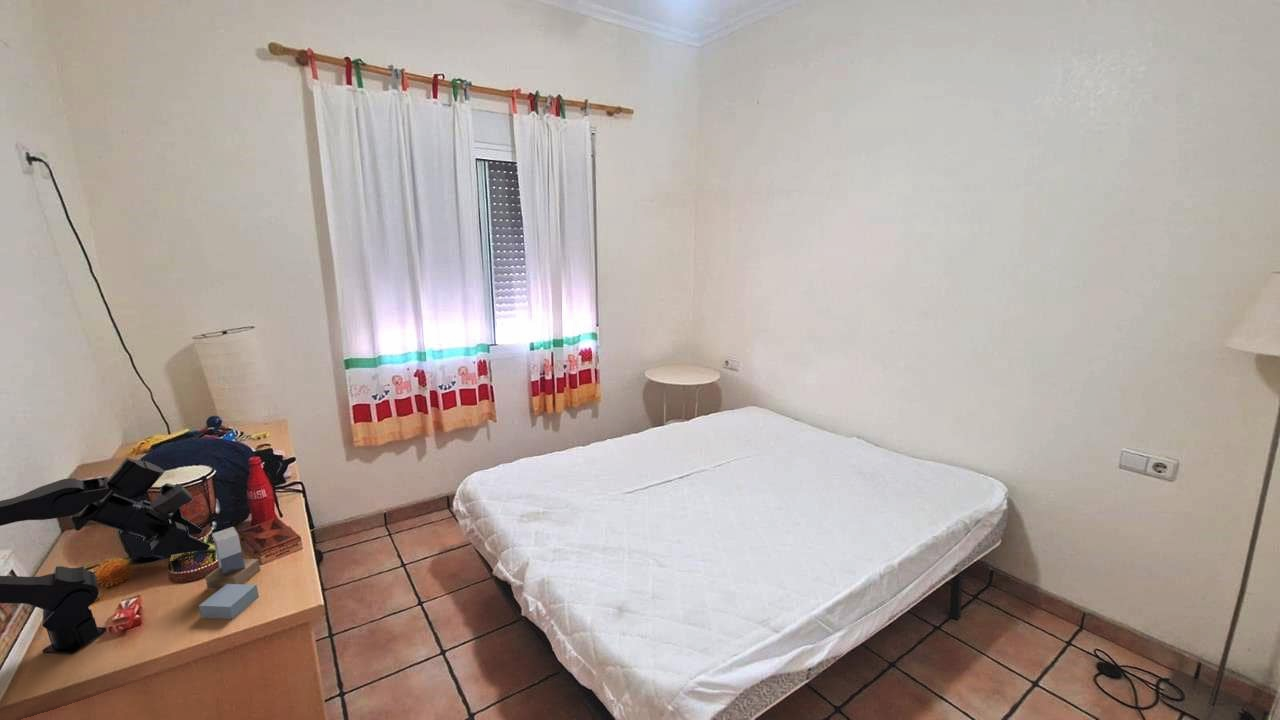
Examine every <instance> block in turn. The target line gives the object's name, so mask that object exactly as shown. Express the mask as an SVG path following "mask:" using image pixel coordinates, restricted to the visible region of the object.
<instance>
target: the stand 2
mask: <svg viewBox="0 0 1280 720" xmlns="http://www.w3.org/2000/svg"><path fill="white" fill-rule="evenodd" d="M259 597H260V596H259V590H258V585H257V584H248V583H247V584H245V583H244V584H226V585H225V586H223V587H222V588H221V589H217V591H216V592H214V593H213V594H212V595H211V596H209V597H208V598H206V599H205V600H204V601H202V603H200V604H199V605H198V608H199V613H200V617H201V618H202V619H225V620H234V618H236V617H237V616H238V615H240V613H241V612H243V611H245V610H244V609H246V608H247V607H248V606H250V605H251V604H252V603H253V602H254V601H256V599H257V598H259Z"/></svg>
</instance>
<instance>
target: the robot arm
mask: <svg viewBox="0 0 1280 720" xmlns="http://www.w3.org/2000/svg"><path fill="white" fill-rule="evenodd" d="M164 473H165V470H164V469H163V468H162V467H159V466H158V465H156V464H153V463H151V462H149V461H146V460H143V461H142V460H141V459H133V458H129V457H126V458H125V459H124V460H123V461H122V462H121V463H120V466H119V467H118V468H117V469H116V470H115V471H114V472H113V473H112V474H111V475H110V476H109V477H107V476H103V477H96V478H89V479H83V480H80V479H77V478H73V477H71V478H70V477H69V478H62V479H59V480H56V481H53V482H50V483H47V484H45V485H42V486H39V487H37V488H36V487H35V488H34V489H32V490H30V491H27V492H26V493H23V494H21V495H17V496H14V497H11V498H8V499H3V500H0V527H1V526H5V525H9V524H13V523H18V522H24V521H46V520H54V519H61V518H65V517H66V518H67V517H70V520H71V521H72V522H73V524H74V530H75V531H76V532H79V531H81V530H82V529H83V528H84V526H85V525H87V523H88V522H91V523H94V524H97V525H101V526H105V527H108V528H111V529H115V530H117V531H119V534H120V535H123V536H127V535H128V534H131V535H134V536H136V535H138V536H141V537H143V541H147V542H149V541H150V540H151V539H152V538H153V537H154V536H155V539H154V540H153V541H152V542H151V543H150V546H151V550H152V554H153V556H155V557H154V558H159V559H162V560H163V559H165V558H166V557H170V556H173V555H179V554H187V553H194V552H195V553H196V552H204V551H208V550H209V549H210V548H211V547H210V545H209V544H207V543H205V542H203V541H201V540H199V539H197V538H195V537H193V536H191V535H189V534H201V533H202V532H203V529H201V528H200V527H198V526H197V525H195V524H194V523H192V522H190V521H189V520H187V519H186V518H184V517H183V516H182V515H181V512H180V507H182V506H183V505H185V504H188V503H189V502H191V501H193V499H194V497H193V496H192V494H191V492H189V491H188V490H187V489H186V488H185V487H184V486H183V485H181V483H180V484H179V483H176V484H171V483H167V482H166V483H164V484H163V485H161V486H159V490H160V495H157V497H156V498H155V499H154V500H152V501H149V500H146V499H145V500H140V501H139V502H138V501H134V500H133V499H138V498H139V497H143V496H145V495H146V494H147V492H149V490H150V489H151V488H152V487H153V485H154V484H156V482H157V481H158V480H159V479H160V478H161V477H162V476H163V475H164ZM131 499H132V500H131ZM209 547H210V548H209ZM98 597H99V586H98V577H97V576H96V574H95V573H94V572H93V571H91V570H88V569H86V570H85V566H80V567H67V566H62V565H61V566H60V565H59V566H55V568H54V570H53V573H49V574H45V575H40V576H21V575H20V576H17V575H15V576H14V575H0V604H16V605H17V604H21V605H22V604H24V605H29V606H32V607H35V608H39V609H41V610H42V624H41V626H42V627H43V628H44V629H45V630H46V632H47V635H48V639H49V641H50V644H49V645H47V646H46V647H45V648H43V649H42V651H41V652H42V654H59V655H61V654H62V655H72V654H74V653H77V652H78V651H79V650H80V649H82V648H84V647H85V646H86V645H88V644H89V643H90V642H93V640H95V639H96V638H97V637H99V636H101V635H102V634H104V633H105V632H106V631H107V630H108V629H107V627H106V626H105V627H104V626H98V625H97V622H96V618H95V617H94V614H93V612H92V609H90V606H91V605H93V604H94V603H95V602H96V600H97V599H98Z"/></svg>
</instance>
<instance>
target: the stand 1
mask: <svg viewBox="0 0 1280 720" xmlns="http://www.w3.org/2000/svg"><path fill="white" fill-rule="evenodd" d="M243 560H244V565H245V569H242V570H240V571H237V572H235V573H232V574H229V575H227V576H223V574H222V571H221V569H220V567H219V566H218V567H217V568H216V569H214V570H212V571H211V572H210V573H208V574H207V575H206V576H205V577H204V578H205V581H206V586H207V589H213V590H220V589H221V588H222V587H223V586H225V585H226V584H245V583H246V582H248V581H249V580H250V579H251V578H252V577H254V576H255V575H256V574H257V573H259V572H260V571H261V566H260V561H259V559H257V558H243Z"/></svg>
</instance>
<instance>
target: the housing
mask: <svg viewBox="0 0 1280 720" xmlns="http://www.w3.org/2000/svg"><path fill="white" fill-rule="evenodd" d="M212 537H213V541H214V543H213V545H214V548H215V552H216V556H217V562H218V565H219V566H218V567H220V569H221V571H222V574H223V576H227V575H229V574H232V573H235V572H237V571H240V570H242V569H245V565H244V560H243V559H244V556H243V552H242V546H241V542H240V537H239V534H238V532H237V530H236V528H235V527H234V526H232V527H228V528H224V529H222V530H220V531H215V532H212Z"/></svg>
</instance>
